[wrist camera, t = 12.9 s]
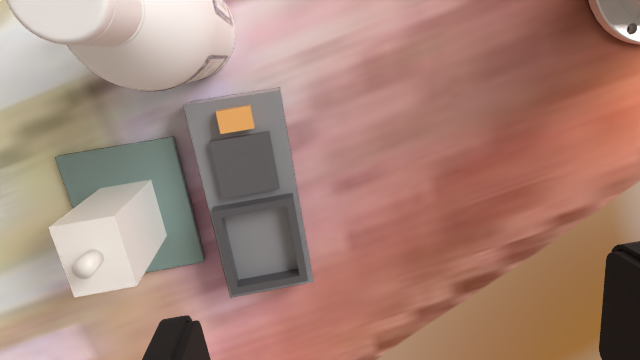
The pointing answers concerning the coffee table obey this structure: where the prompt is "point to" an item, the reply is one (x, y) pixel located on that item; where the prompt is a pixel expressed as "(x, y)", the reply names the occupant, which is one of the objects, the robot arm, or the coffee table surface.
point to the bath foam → (137, 37)
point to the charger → (109, 238)
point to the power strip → (250, 190)
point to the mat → (133, 166)
